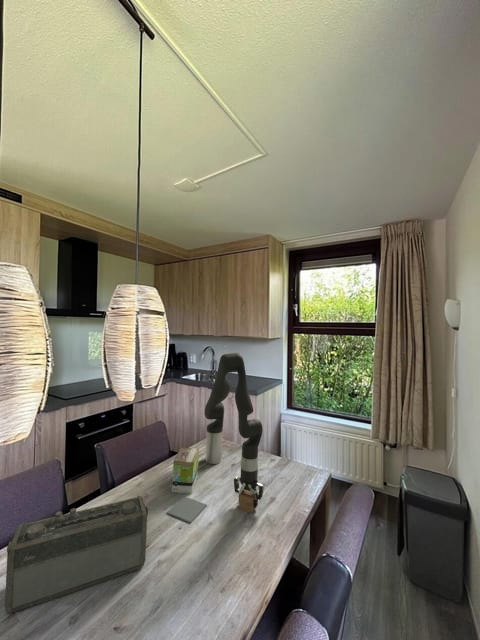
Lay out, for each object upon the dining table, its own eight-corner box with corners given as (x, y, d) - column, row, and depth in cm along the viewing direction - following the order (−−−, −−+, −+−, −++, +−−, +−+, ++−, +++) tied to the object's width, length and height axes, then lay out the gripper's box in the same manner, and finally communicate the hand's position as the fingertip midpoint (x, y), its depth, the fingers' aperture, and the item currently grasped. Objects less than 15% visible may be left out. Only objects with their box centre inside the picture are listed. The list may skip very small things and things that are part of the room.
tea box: (192, 494, 130) (193, 462, 130) (171, 492, 130) (172, 461, 130) (198, 476, 145) (199, 447, 145) (178, 475, 145) (180, 446, 145)
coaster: (184, 497, 127) (184, 496, 127) (206, 505, 121) (206, 504, 121) (166, 513, 116) (166, 512, 116) (190, 523, 111) (190, 521, 111)
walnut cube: (244, 501, 126) (245, 487, 126) (256, 505, 123) (257, 491, 123) (238, 508, 120) (239, 494, 120) (251, 513, 118) (252, 499, 118)
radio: (-2, 621, 73) (2, 544, 73) (13, 576, 86) (16, 510, 86) (148, 568, 90) (151, 506, 90) (142, 537, 103) (144, 482, 103)
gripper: (267, 466, 122) (266, 505, 122) (238, 458, 129) (236, 495, 128) (261, 474, 116) (260, 515, 115) (230, 465, 122) (229, 504, 122)
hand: (247, 504), depth 122 cm, fingers closed on walnut cube, 6 cm apart
